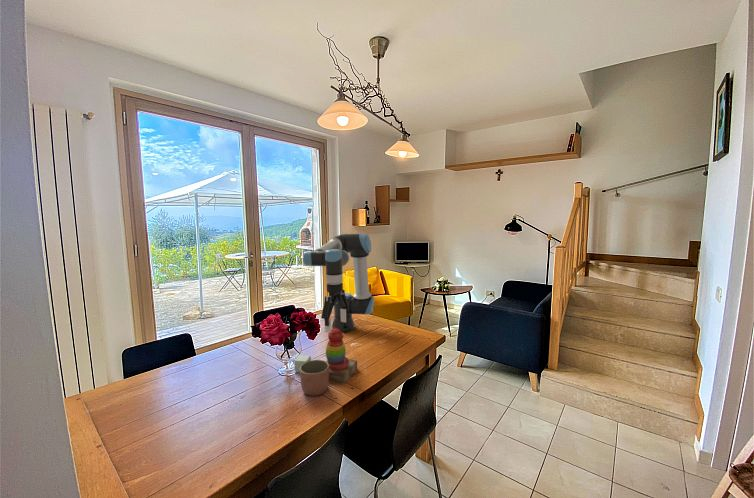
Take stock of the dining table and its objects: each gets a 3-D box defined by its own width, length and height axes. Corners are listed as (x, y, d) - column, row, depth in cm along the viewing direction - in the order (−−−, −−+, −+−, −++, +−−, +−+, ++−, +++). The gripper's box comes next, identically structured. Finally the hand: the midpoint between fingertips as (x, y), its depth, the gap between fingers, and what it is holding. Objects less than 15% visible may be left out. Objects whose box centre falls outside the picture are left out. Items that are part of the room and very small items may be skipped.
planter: (319, 379, 141) (318, 357, 140) (335, 390, 132) (334, 366, 131) (295, 390, 133) (294, 366, 131) (311, 402, 124) (309, 377, 123)
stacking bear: (346, 370, 140) (344, 333, 138) (324, 370, 140) (322, 333, 138) (348, 359, 151) (347, 324, 149) (328, 359, 151) (326, 325, 149)
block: (299, 366, 154) (299, 355, 153) (311, 366, 153) (310, 355, 152) (294, 372, 148) (294, 360, 147) (306, 373, 147) (306, 361, 147)
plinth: (332, 365, 155) (331, 356, 154) (357, 370, 150) (356, 360, 149) (317, 379, 142) (316, 369, 141) (344, 385, 137) (343, 374, 136)
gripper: (341, 276, 154) (342, 317, 157) (311, 288, 131) (314, 335, 134) (354, 277, 151) (355, 318, 153) (326, 290, 128) (328, 338, 131)
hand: (336, 326), depth 144 cm, fingers open, 13 cm apart
